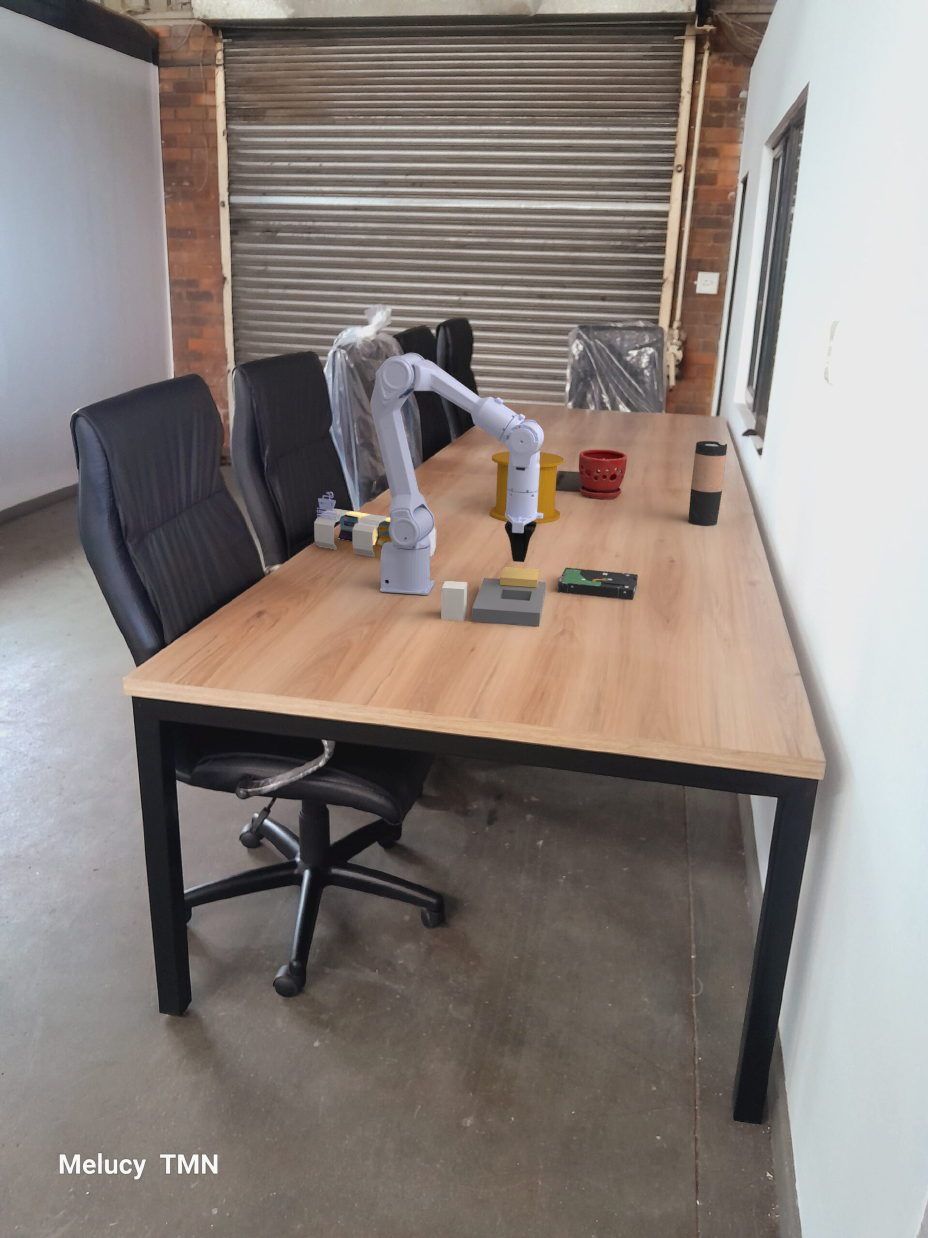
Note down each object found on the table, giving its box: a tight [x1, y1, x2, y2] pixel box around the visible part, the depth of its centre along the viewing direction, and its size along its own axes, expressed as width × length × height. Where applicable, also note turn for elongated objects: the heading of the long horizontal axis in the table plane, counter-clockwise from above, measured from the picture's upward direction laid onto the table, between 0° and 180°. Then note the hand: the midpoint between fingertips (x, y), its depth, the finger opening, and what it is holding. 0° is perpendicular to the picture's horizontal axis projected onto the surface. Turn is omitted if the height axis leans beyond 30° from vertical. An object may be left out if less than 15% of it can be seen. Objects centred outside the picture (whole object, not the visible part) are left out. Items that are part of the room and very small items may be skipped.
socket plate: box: [471, 577, 547, 627], centre depth 177 cm, size 12×18×2 cm, turn 172°
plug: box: [440, 580, 468, 622], centre depth 171 cm, size 4×4×6 cm
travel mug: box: [688, 440, 728, 527], centre depth 239 cm, size 8×8×20 cm
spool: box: [489, 451, 564, 524], centre depth 242 cm, size 18×18×15 cm
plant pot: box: [578, 448, 628, 500], centre depth 266 cm, size 13×13×12 cm
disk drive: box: [557, 567, 639, 601], centre depth 189 cm, size 10×3×15 cm
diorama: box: [313, 491, 437, 558], centre depth 208 cm, size 25×10×13 cm, turn 63°
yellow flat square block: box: [499, 566, 540, 588], centre depth 184 cm, size 7×7×2 cm
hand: (518, 560), depth 178 cm, fingers closed
